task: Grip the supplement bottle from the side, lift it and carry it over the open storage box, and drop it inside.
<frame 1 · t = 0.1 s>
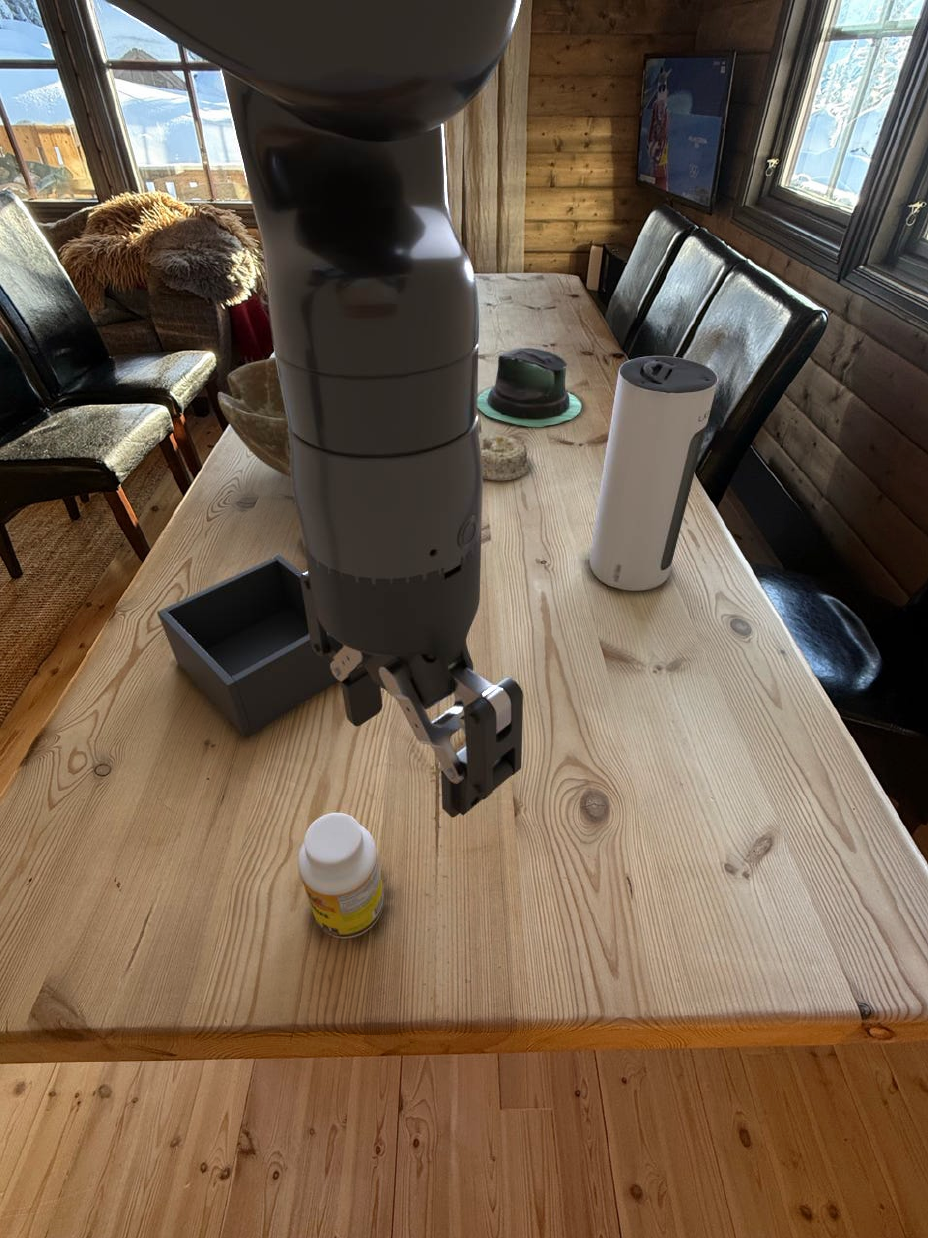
hand: (410, 758, 38), 20 cm above the table, tool pointing down, fingers open, 8 cm apart
open storage box: (270, 664, 72), on the table
pill bottle: (326, 545, 90), on the table
bowl: (327, 473, 105), on the table
supplement bottle: (350, 907, 52), on the table
cake: (498, 467, 107), on the table
speaker: (627, 569, 86), on the table
fedora hat: (528, 405, 126), on the table
planter: (380, 349, 149), on the table
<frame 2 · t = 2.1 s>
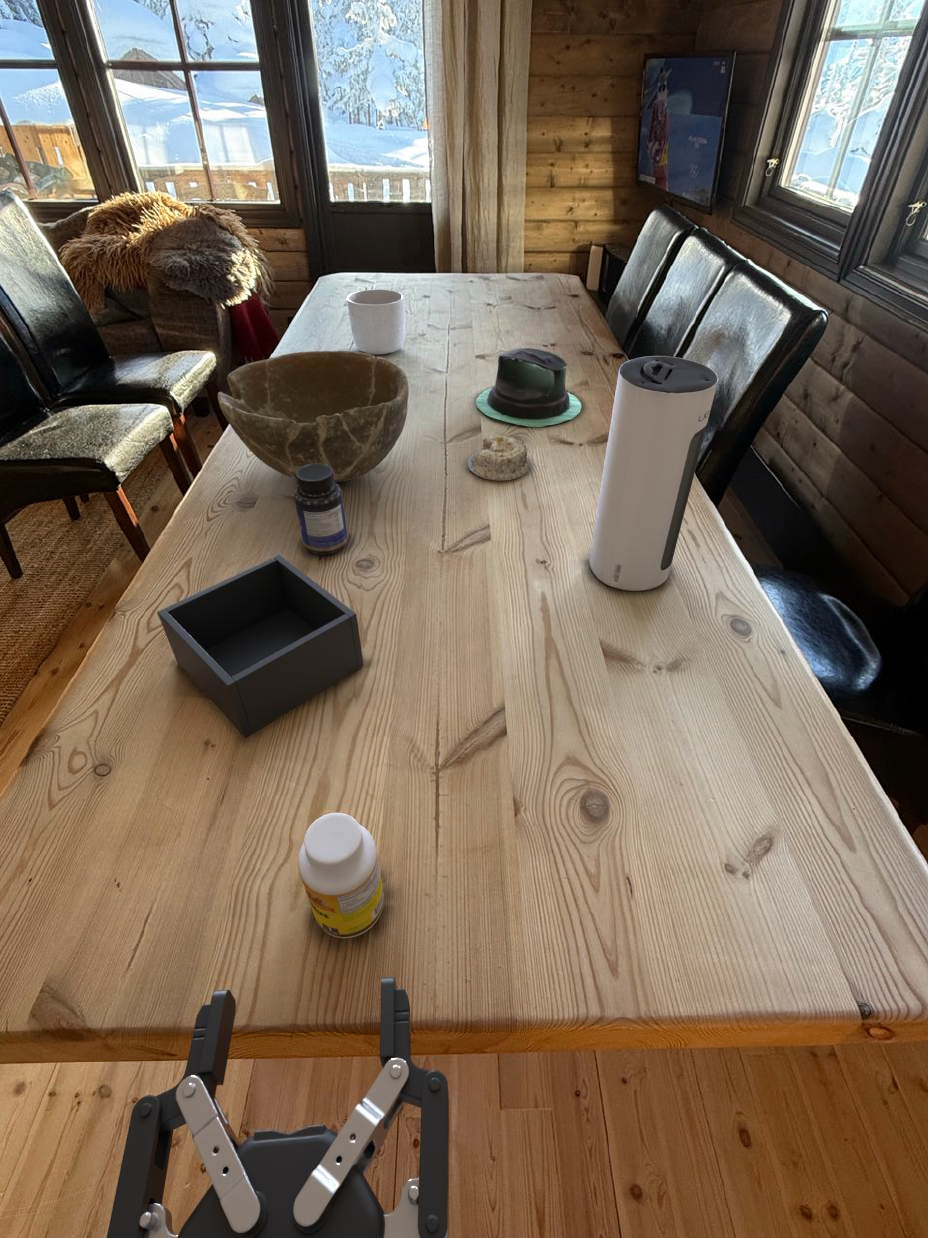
hand: (307, 989, 35), 14 cm above the table, tool horizontal, fingers open, 8 cm apart
nothing on the table moved.
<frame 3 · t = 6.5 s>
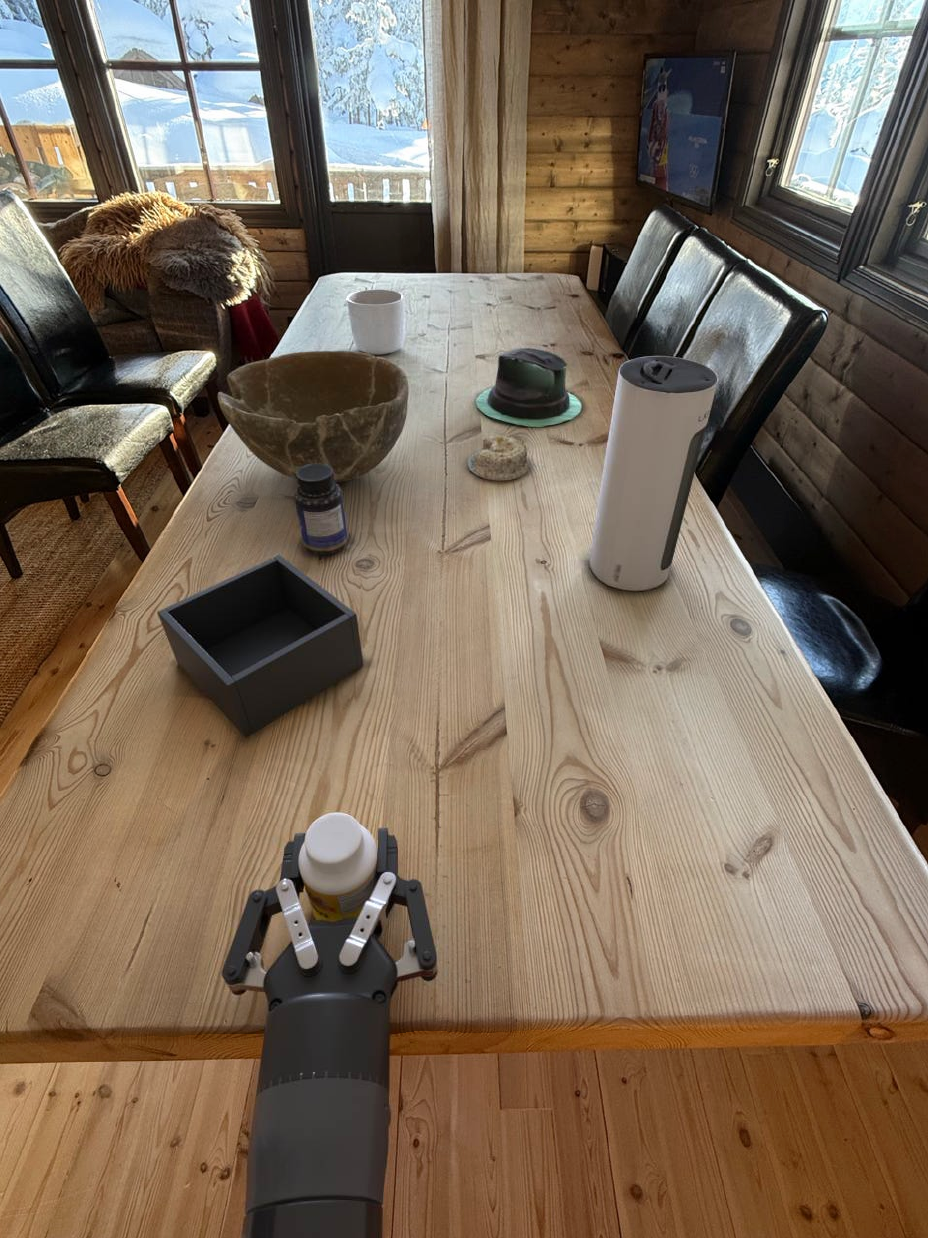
hand: (342, 836, 50), 6 cm above the table, tool horizontal, fingers closed on supplement bottle, 5 cm apart
supplement bottle: (350, 907, 52), on the table, touching gripper
everything else where it was.
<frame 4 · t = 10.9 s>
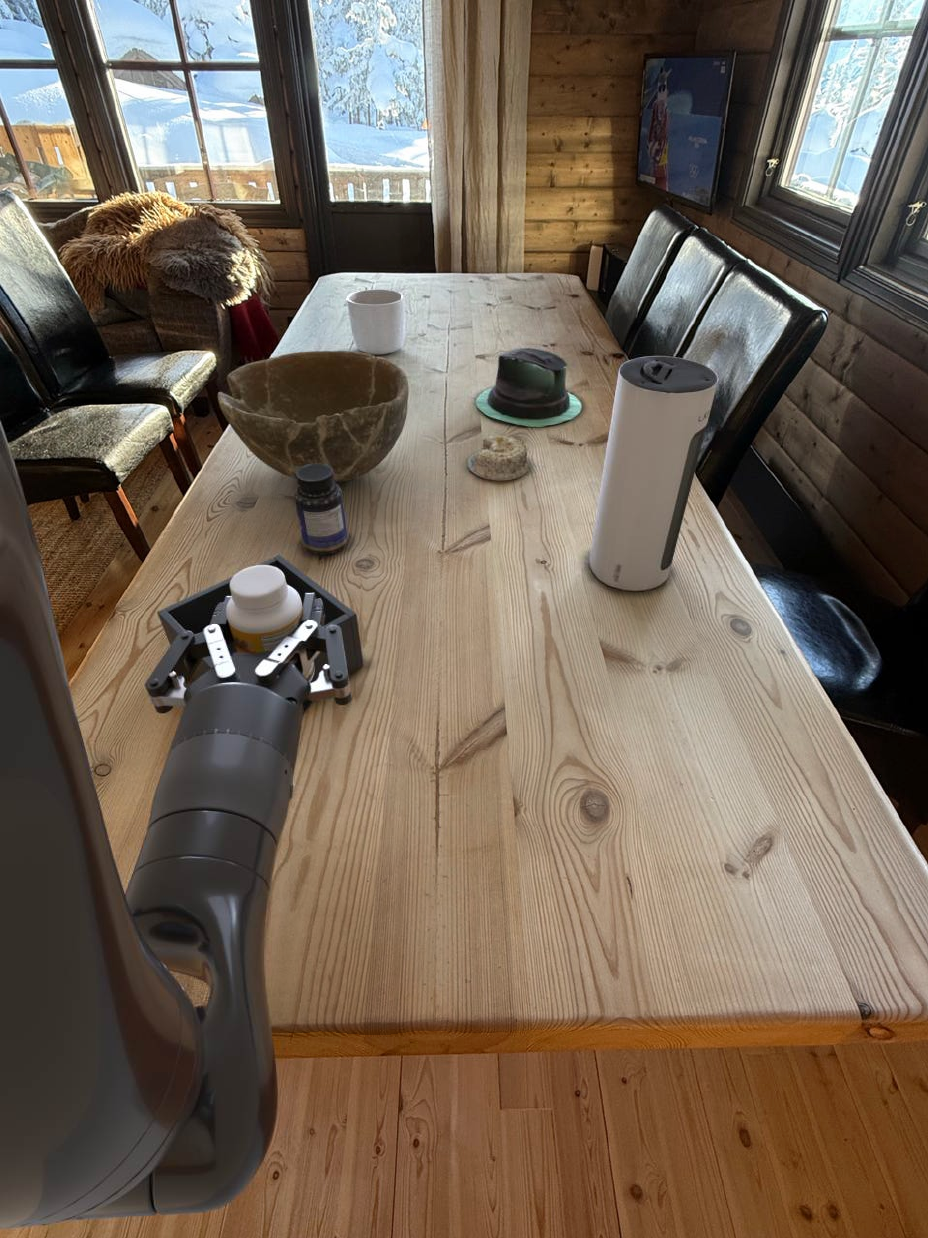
hand: (273, 603, 53), 18 cm above the table, tool horizontal, fingers closed on supplement bottle, 5 cm apart
supplement bottle: (282, 679, 55), point 12 cm above the table, touching gripper
everything else where it was.
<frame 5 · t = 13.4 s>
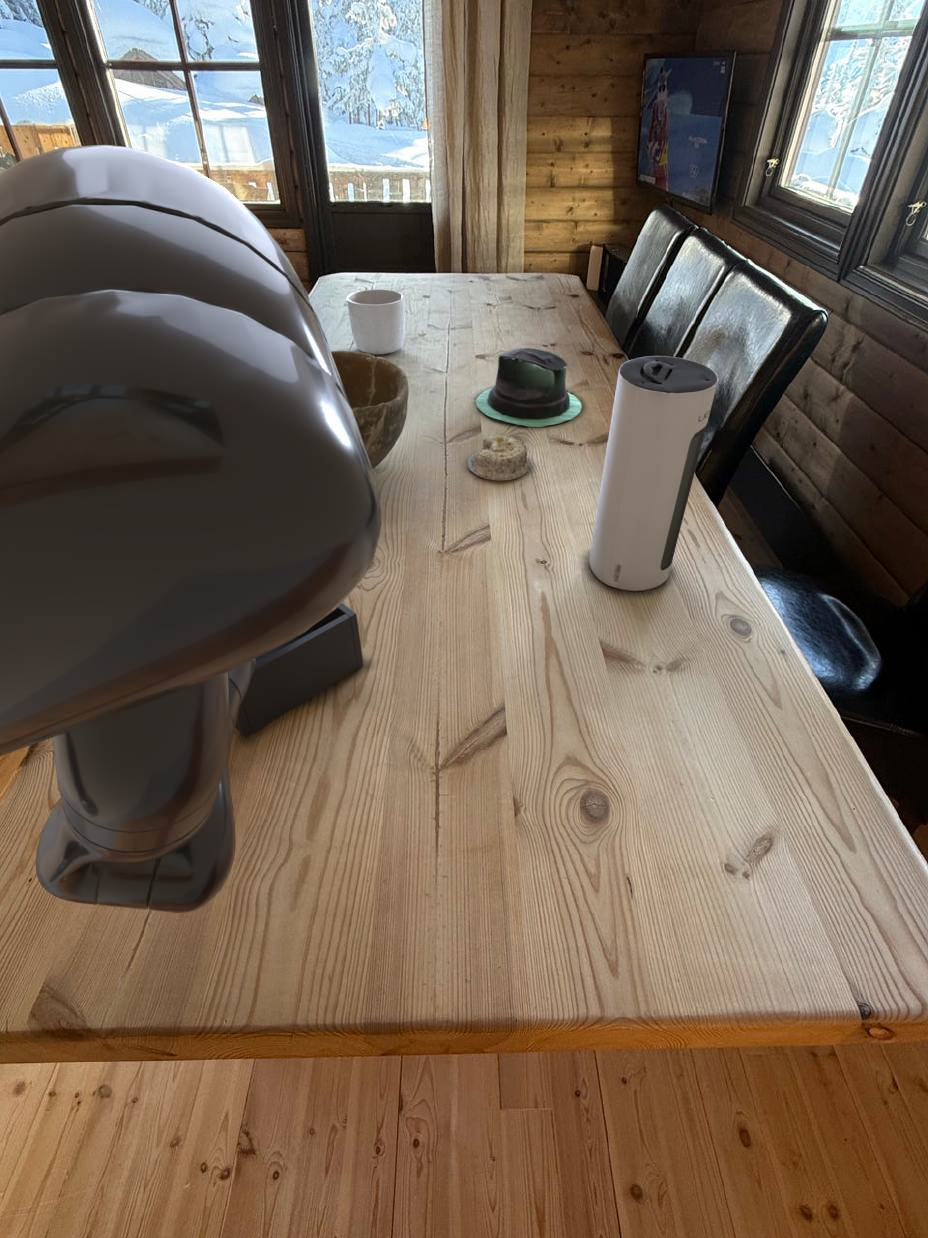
hand: (245, 536, 64), 15 cm above the table, tool horizontal, fingers closed on supplement bottle, 5 cm apart
supplement bottle: (254, 601, 66), point 9 cm above the table, touching gripper
everything else where it was.
when the fingers open (11 cm above the table, at t = 15.2 s): supplement bottle drops 4 cm, resting on open storage box.
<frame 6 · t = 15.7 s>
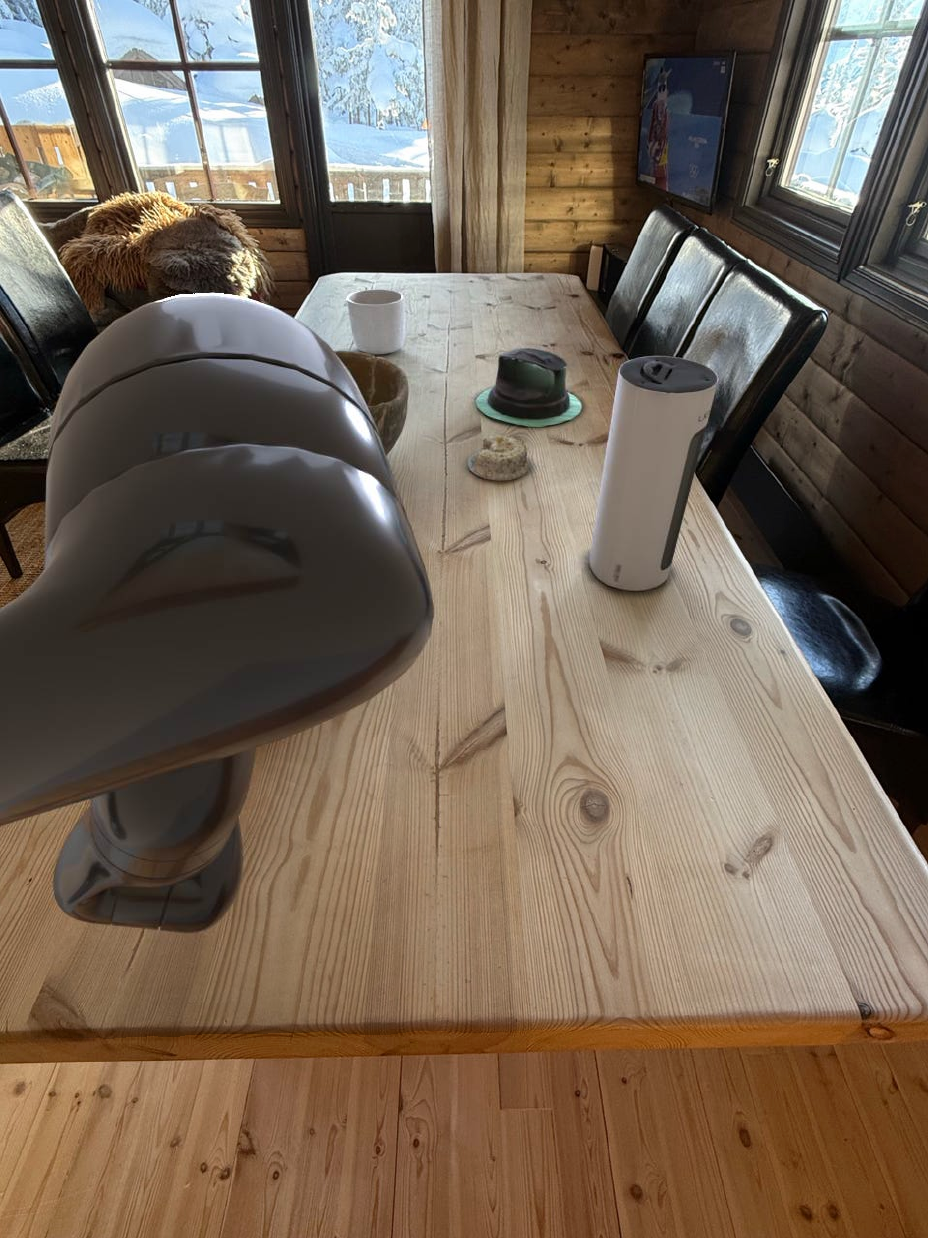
hand: (247, 559, 65), 13 cm above the table, tool horizontal, fingers open, 8 cm apart
supplement bottle: (268, 657, 72), point 1 cm above the table, touching open storage box
everything else where it was.
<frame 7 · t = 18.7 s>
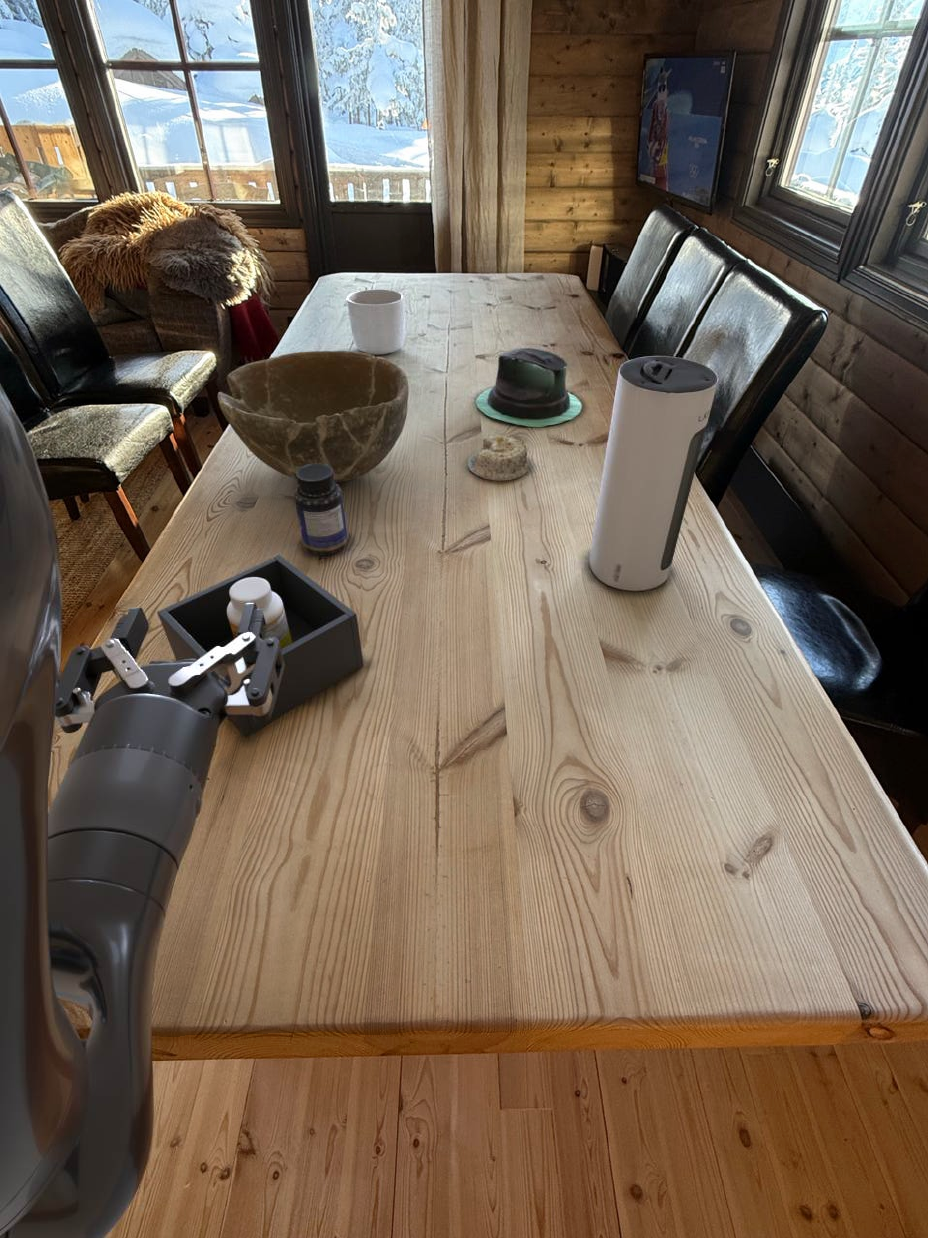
hand: (197, 613, 51), 18 cm above the table, tool horizontal, fingers open, 8 cm apart
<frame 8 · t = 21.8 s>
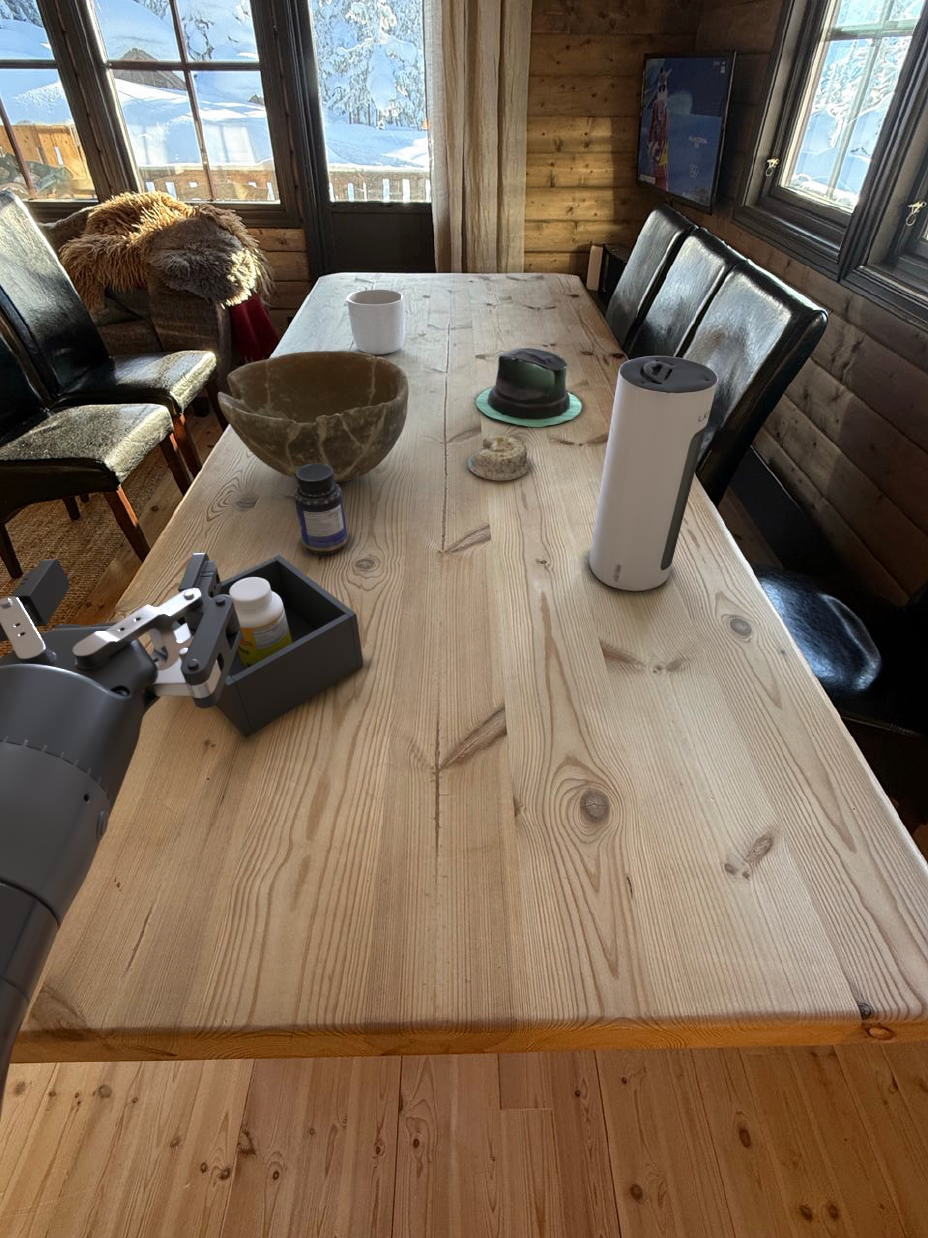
hand: (131, 568, 39), 28 cm above the table, tool horizontal, fingers open, 8 cm apart
at the end: supplement bottle inside the target area in the open storage box (0.1 cm from its centre), point 0.3 cm above the open storage box's base; the gripper is holding nothing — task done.
